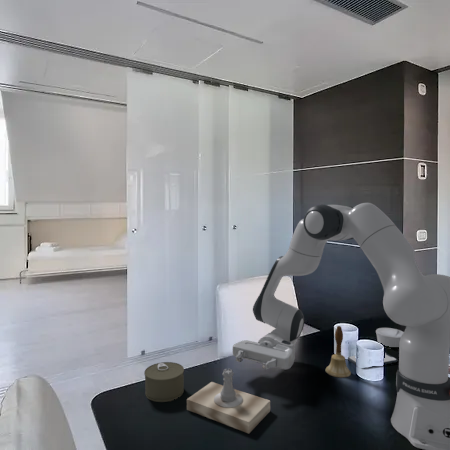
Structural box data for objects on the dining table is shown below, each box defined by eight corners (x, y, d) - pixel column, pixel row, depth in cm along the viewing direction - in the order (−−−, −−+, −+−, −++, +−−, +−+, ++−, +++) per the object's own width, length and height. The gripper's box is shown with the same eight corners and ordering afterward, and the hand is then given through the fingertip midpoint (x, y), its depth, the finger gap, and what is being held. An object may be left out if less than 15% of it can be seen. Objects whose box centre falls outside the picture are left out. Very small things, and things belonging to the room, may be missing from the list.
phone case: (361, 371, 127) (399, 364, 131) (361, 366, 127) (399, 359, 131) (346, 360, 135) (382, 354, 140) (346, 356, 135) (382, 350, 140)
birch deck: (270, 411, 101) (270, 399, 101) (248, 433, 91) (248, 421, 91) (211, 391, 112) (211, 380, 112) (186, 409, 102) (186, 398, 102)
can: (148, 406, 105) (148, 382, 104) (141, 386, 116) (141, 365, 115) (189, 397, 109) (188, 375, 109) (178, 379, 120) (178, 359, 120)
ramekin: (411, 350, 143) (411, 337, 143) (382, 350, 143) (382, 337, 143) (398, 339, 154) (398, 327, 154) (371, 339, 155) (371, 327, 154)
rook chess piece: (231, 404, 99) (230, 375, 98) (217, 400, 101) (216, 371, 101) (239, 397, 103) (238, 369, 102) (225, 392, 105) (225, 365, 105)
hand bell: (354, 371, 125) (355, 325, 125) (345, 380, 119) (345, 332, 118) (331, 364, 131) (332, 320, 130) (321, 372, 124) (321, 326, 124)
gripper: (244, 333, 129) (222, 345, 118) (298, 345, 118) (280, 360, 107) (244, 350, 130) (222, 364, 118) (298, 364, 118) (280, 381, 107)
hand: (250, 362), depth 112 cm, fingers open, 8 cm apart
